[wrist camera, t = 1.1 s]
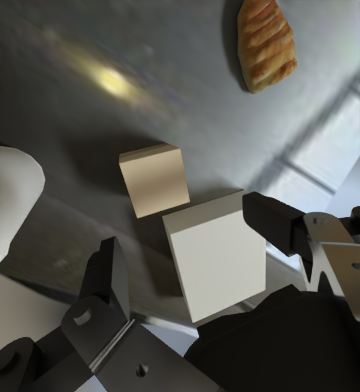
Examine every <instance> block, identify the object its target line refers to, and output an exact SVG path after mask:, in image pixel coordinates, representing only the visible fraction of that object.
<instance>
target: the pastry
mask: <svg viewBox="0 0 360 392" xmlns="http://www.w3.org/2000/svg"><path fill="white" fill-rule="evenodd" d="M237 28H238V49H237V55H238V58H239V59H240V65H241V68H242V73H243V77H244V80H245V83H246V86H247V87H248V90H249V91H250V93H251V94H257V93H260V92H262V91H264V90H266V89H267V88H268V87H270V86H272V85H274V84H276V83H278V82H279V81H281V80H283V79H285V78H287V77H288V76H290V75H291V74H292V72H294V70H295V69H296V66H297V61H296V59H295V45H294V41H293V31H292V28H291V27H290V26H289V25H288V23H287V21H286V19H285V18H284V17H283V15H282V12H281V10H280V8H279V6H278V5H277V4H276V1H275V0H244V1H243V4H242V6H241V9H240V11H239V14H238V18H237Z"/></svg>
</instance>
